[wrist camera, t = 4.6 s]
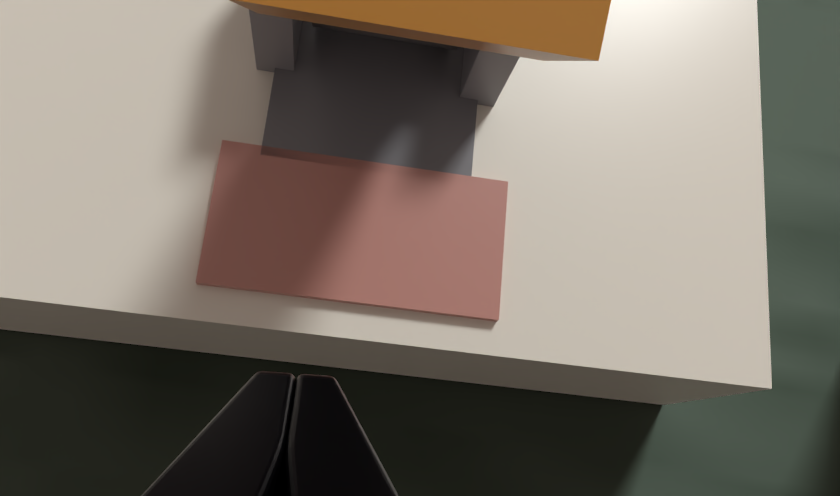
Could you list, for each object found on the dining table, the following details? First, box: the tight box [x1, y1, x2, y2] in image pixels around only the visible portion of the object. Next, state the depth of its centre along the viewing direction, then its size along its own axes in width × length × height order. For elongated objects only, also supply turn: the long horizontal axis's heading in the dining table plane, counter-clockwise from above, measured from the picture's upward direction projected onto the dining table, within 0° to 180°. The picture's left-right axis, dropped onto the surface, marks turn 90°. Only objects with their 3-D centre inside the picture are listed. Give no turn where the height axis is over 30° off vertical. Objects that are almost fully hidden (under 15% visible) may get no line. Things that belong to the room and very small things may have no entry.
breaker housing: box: [0, 0, 772, 405], centre depth 18 cm, size 14×18×8 cm
